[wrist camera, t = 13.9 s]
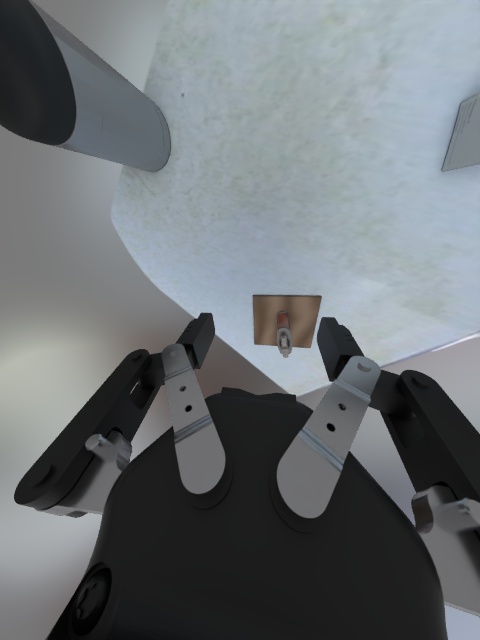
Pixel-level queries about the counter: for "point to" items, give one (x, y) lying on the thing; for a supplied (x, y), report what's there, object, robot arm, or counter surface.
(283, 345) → the lighter
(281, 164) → the counter surface
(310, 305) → the board
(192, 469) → the robot arm
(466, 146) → the supplement box
